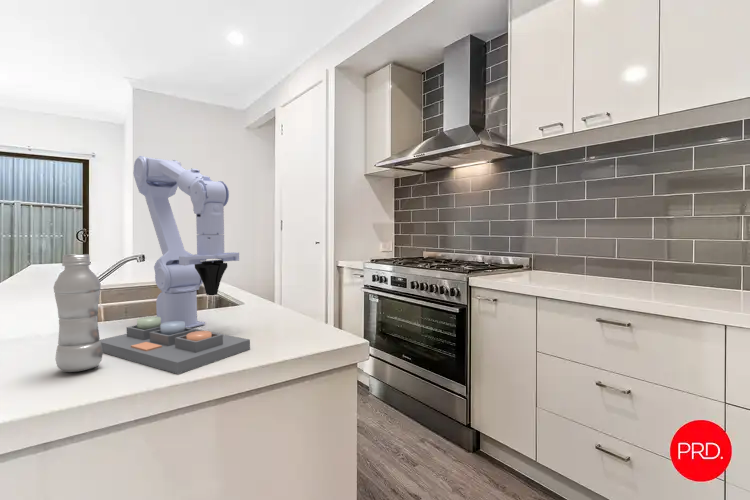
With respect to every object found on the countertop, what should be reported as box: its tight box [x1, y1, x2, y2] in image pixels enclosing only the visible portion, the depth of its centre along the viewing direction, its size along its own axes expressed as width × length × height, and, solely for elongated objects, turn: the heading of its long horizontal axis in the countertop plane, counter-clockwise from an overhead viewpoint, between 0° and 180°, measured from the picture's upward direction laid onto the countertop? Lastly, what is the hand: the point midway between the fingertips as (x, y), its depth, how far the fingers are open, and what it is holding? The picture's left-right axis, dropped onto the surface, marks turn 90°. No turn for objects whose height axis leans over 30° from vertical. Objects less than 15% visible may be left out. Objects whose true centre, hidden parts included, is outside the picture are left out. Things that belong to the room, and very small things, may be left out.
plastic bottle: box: [53, 253, 104, 373], centre depth 69 cm, size 6×7×20 cm
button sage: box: [136, 316, 161, 330], centre depth 85 cm, size 4×4×2 cm
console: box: [99, 323, 251, 375], centre depth 81 cm, size 26×16×4 cm, turn 61°
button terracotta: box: [186, 330, 212, 341], centre depth 77 cm, size 4×4×2 cm
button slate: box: [160, 321, 185, 335], centre depth 81 cm, size 4×4×2 cm
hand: (211, 294), depth 91 cm, fingers closed
